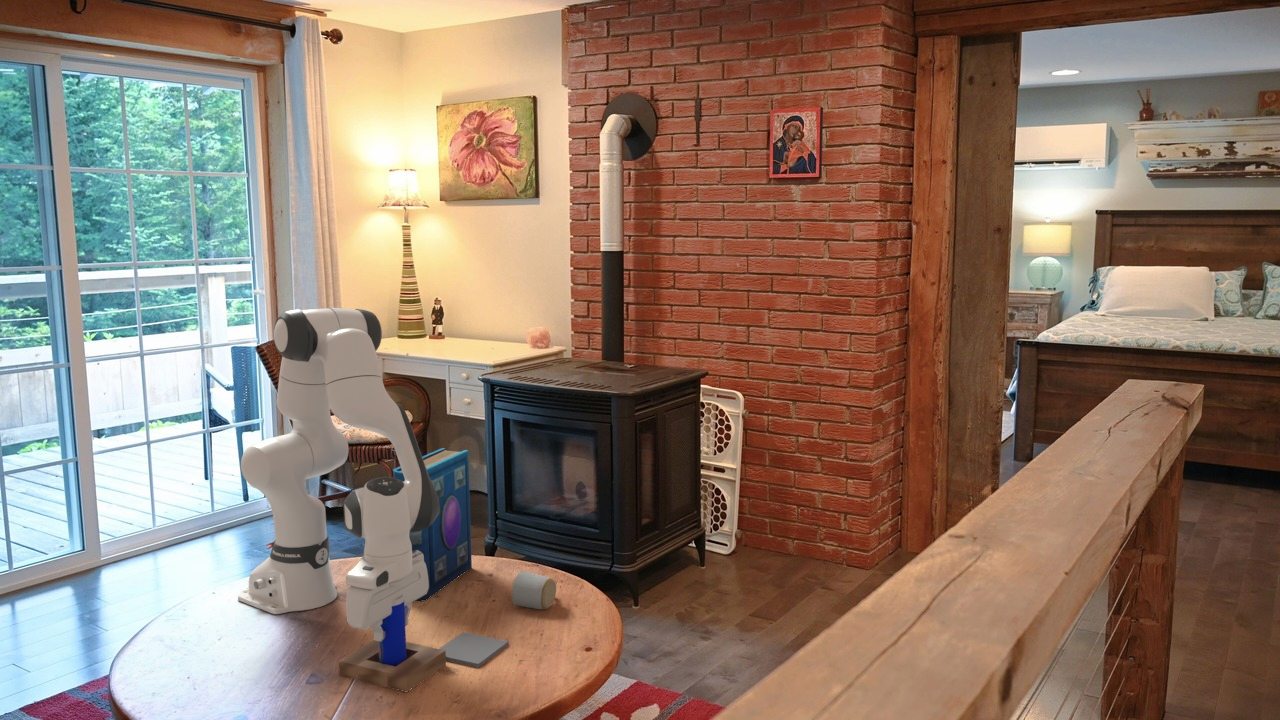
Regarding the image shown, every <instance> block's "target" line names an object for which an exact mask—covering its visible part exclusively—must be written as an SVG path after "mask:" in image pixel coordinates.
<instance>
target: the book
mask: <svg viewBox="0 0 1280 720" xmlns="http://www.w3.org/2000/svg"><path fill="white" fill-rule="evenodd" d="M422 458H423V461H424V464H425V467H426V469H427V472H428V475H429V477H430V479H431V481H432V483H433V485H434V488H435V490H436V493H437V495H438V499H439V504H440V512H439V515H438V516H437V518H436V519H435V521H434V522H433V523H432V524H431V525H430V526H429V527H428V528H427V529H425V530H412V531H410V532H409V538H410V541H411V544H412V552H413V551H414V550H419V551H420V552H422V554H423V555H424V562H425V564H426V567H427V573H428V580H429V589H428V592H427V594H425V595H424V596H422V597H420V598H419V599H417V600H415V601H420V602H423V601H422V600H425V601H427V600H429V599H430V598H431V597H433V596H434V595H436V594H437V593H439V592H440V591H441V590H443V589H444V588H445V587H444V586H446V585H447V584H449V583H450V582H451V581H453V580H454V579H456V578H457V577H458V576H460V575H461V574H463V573H464V572H466V571H467V570H468V571H470V570H471V569H472V567H473V566H472V564H473V563H472V561H473V560H472V533H471V532H472V531H471V530H472V529H471V526H472V525H471V499H470V498H471V497H470V495H471V494H470V492H471V490H470V471H469V470H470V463H469V462H470V461H469V459H470V458H469V450H467V449H464V450H462V451H451V450H446V448H444V447H442V448H439V449H437V450H435V451H433V452H430V453H428V454H426V455H422ZM392 471H393V478H397V479H399V480H401V481H403V482H404V481H405V478H404V475H403V472H402V469H401V466H400V465H399V466H398V467H396V468H393V469H392ZM469 569H470V570H469ZM468 571H467V572H468ZM467 572H466V573H467ZM464 574H465V573H464ZM464 574H463V575H464ZM461 576H462V575H461ZM461 576H460V577H461ZM458 578H459V577H458ZM458 578H457V579H458ZM457 579H456V580H457ZM454 581H455V580H454ZM454 581H453V582H454ZM451 583H452V582H451ZM451 583H450V584H451ZM450 584H449V585H450ZM447 586H448V585H447ZM447 586H446V587H447ZM443 587H444V588H443ZM442 588H443V589H442ZM440 589H441V590H440ZM439 590H440V591H439ZM438 591H439V592H438ZM436 592H437V593H436ZM435 593H436V594H435ZM433 594H434V595H433ZM432 595H433V596H432ZM430 596H431V597H430ZM429 597H430V598H429ZM428 598H429V599H428ZM426 599H427V600H426Z"/></svg>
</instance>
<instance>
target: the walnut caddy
mask: <svg viewBox="0 0 1280 720" xmlns="http://www.w3.org/2000/svg"><path fill="white" fill-rule="evenodd" d="M406 657H407V660H405V661H404V662H402V663H401V664H399V665H398V666H396V667H395V666H391V665H386V664H382V663H379V651H378V641H375V640H374V639H372V640H371V641H370V642H368V643H366V644H364V645H362V646H361V647H359V648H358V649H356V650H355V651H352V652H351V653H350V654H348V655H346V656H344V657H342V658H341V659H339V660H338V676H339V677H343V678H347V679H350V680H355V681H359V682H364V683H367V684H372V685H374V686H375V685H376V686H380V687H385V688H387V687H388V688H389V689H392V688H394V689H393V690H396V689H399V690H398V691H400V690H403V691H402V692H404V691H409V690H410V689H411V688H413V687H414V686H416V685H417V684H419V683H420V682H421V683H422V681H423V680H424V681H426V680H427V679H428V678H430V677H431V676H433V675H434V674H435V673H437V672H438V671H440V670H441V669H443V668H444V667H445V666H446V665H447V661H446V650H442V649H439V648H436V647H432V646H428V645H422V644H417V643H413V642H409V641H406ZM439 669H440V670H439ZM436 671H437V672H436ZM432 674H433V675H432ZM429 676H430V677H429ZM426 678H427V679H426ZM425 679H426V680H425ZM424 681H423V682H424ZM421 683H420V684H421ZM420 684H419V685H420ZM417 686H418V685H417ZM417 686H416V687H417ZM414 688H415V687H414ZM414 688H413V689H414ZM411 690H412V689H411ZM411 690H410V691H411ZM410 691H409V692H410Z"/></svg>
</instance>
